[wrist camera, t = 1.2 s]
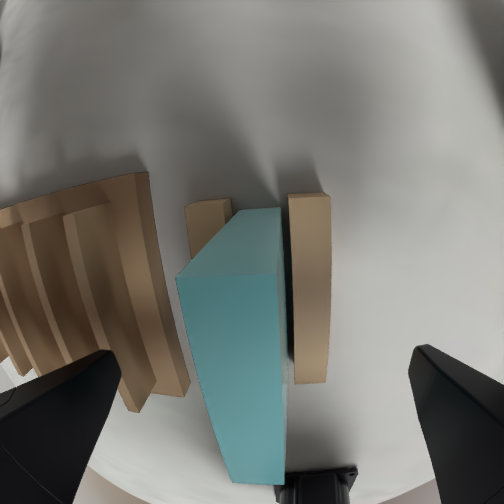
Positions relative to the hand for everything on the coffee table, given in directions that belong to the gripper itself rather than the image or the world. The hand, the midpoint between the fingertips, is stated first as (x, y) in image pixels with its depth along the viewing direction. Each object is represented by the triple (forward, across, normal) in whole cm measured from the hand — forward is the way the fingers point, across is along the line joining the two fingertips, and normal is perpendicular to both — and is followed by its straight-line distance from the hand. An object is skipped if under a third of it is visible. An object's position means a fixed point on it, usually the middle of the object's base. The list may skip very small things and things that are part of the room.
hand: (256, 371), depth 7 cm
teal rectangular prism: (+5, 0, 0) cm, 5 cm away
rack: (+5, +14, 0) cm, 15 cm away
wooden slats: (+5, 0, 0) cm, 5 cm away
